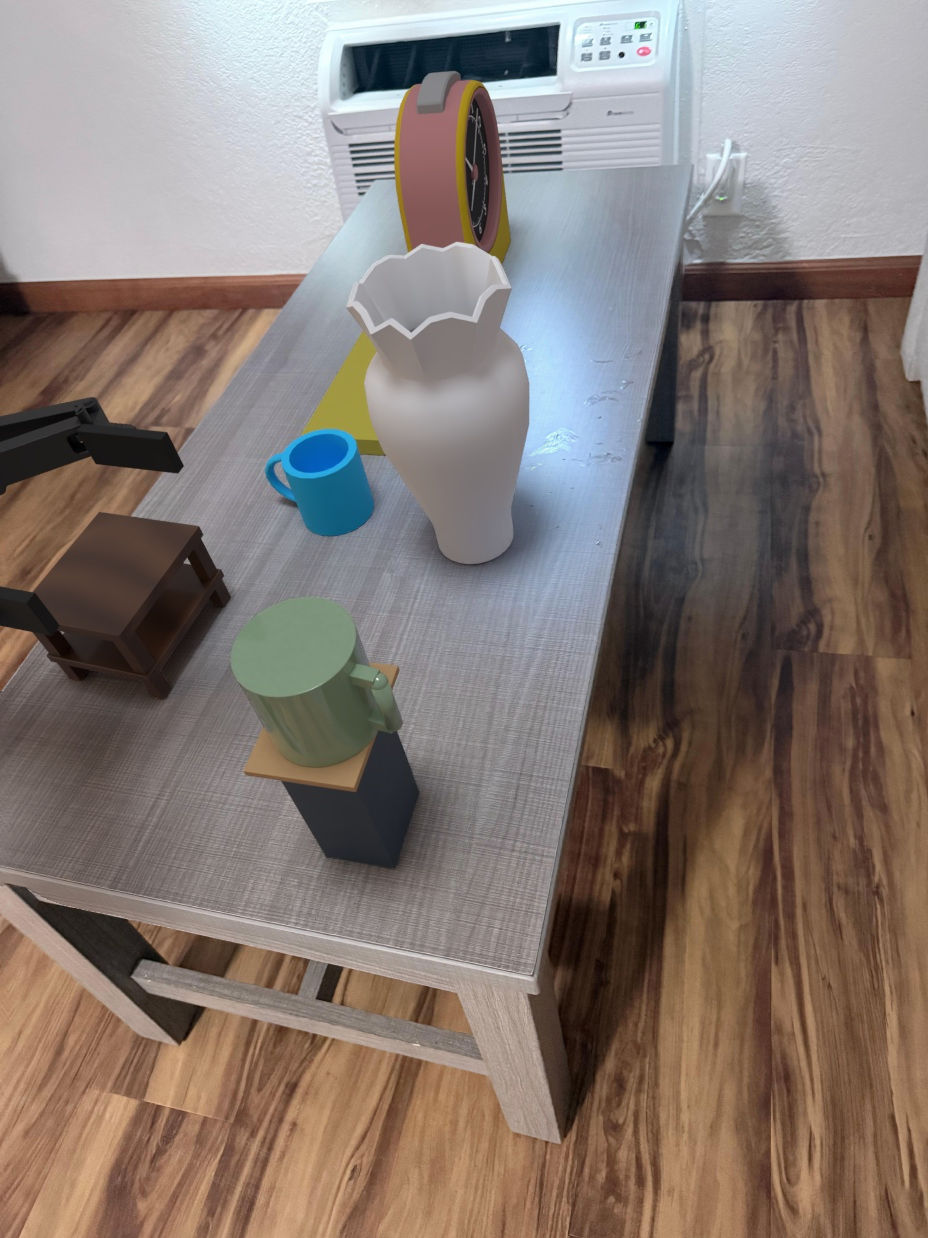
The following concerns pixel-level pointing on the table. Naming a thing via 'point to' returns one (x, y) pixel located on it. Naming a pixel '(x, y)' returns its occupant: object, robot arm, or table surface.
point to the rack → (128, 597)
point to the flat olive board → (349, 401)
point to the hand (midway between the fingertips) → (114, 527)
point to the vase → (447, 389)
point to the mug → (325, 481)
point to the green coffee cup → (312, 682)
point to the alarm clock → (450, 166)
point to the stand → (350, 795)
